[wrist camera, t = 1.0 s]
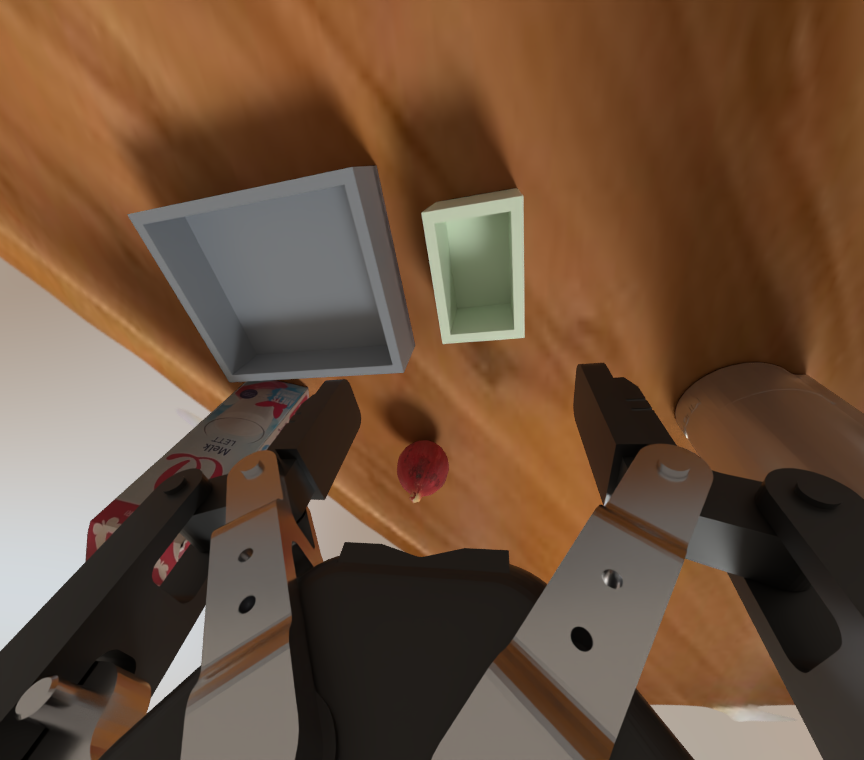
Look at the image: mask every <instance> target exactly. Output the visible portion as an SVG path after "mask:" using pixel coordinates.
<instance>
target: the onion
mask: <svg viewBox="0 0 864 760" xmlns="http://www.w3.org/2000/svg"><path fill="white" fill-rule="evenodd" d="M448 471H449V464H448V458H447V456H446V454H445V452H444V451H443V449H442V448H441V447H440V446H439V445H437V444H436V443H434V442H432V441H428V440H423V441H416V442H414V443H412V444H410V445H409V446H407V447H406V448H405V449H404V451H403V452H402V453H401V455H400V457H399V460H398V465H397V475H398V478H399V481H400V483H401V485H402V487H403V488H404V489H405V490H406V491H407V492H408V493H410V494H411V496H410V498H409V499H410V500H411V501H412V502H414V503H415V502H419V501H420V499H421V497H422V496H428V495H431V494H433V493H435V492H436V491H437V490H439V489H440V488H441V487H442V486H443V484H444V483H445V481H446V478H447V474H448Z"/></svg>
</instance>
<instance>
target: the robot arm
mask: <svg viewBox="0 0 864 760" xmlns="http://www.w3.org/2000/svg"><path fill="white" fill-rule="evenodd" d="M573 406H574V417H575V421H576V424H577V427H578V430H579V433H580V436H581V439H582V442H583V445H584V448H585V451H586V454H587V457H588V460H589V463H590V466H591V469H592V472H593V475H594V478H595V481H596V484H597V487H598V490H599V493H600V496H601V499H602V502H603V505H604V506H603V505H599V506H598V507H597V508H596V509H595V511H594V512H593V514H592V515H591V517H590V518H589V520H588V521H587V523H586V525H585V526H584V528H583V529H582V531H581V533H580V534H579V536H578V537H577V539H576V540H575V542H574V544H573V545H572V547H571V548H570V550H569V551H568V553H567V555H566V556H565V558H564V559H563V561H562V562H561V564H560V566H559V567H558V569H557V570H556V572H555V573H554V575H553V577H552V578H551V580H550V581H549V583H548V585H547V584H546V583H545V582H544V581H542V580H541V579H540V578H538V577H536V576H535V575H533V574H532V573H530V572H528V571H526V570H524V569H522V568H520V567H517V566H514V565H511V564H509V551H508V550H490V549H470V548H464V549H459V550H454V551H449V552H445V553H440V554H435V555H430V556H426V557H417V556H414V555H411V554H408V553H406V552H403V551H400V550H397V549H394V548H391V547H389V546H386V545H383V544H370V543H351V542H345V543H344V546H343V548H342V551H341V554H340V556H337V557H334V558H331V559H328V560H326V561H324V562H323V559H322V556H321V553H320V549H319V545H318V541H317V537H316V533H315V529H314V525H313V521H312V517H311V513H310V510H309V508H308V507H307V505H308V503H309V502H310V500H311V499H316V500H325V498H326V496H327V494H328V492H329V490H330V488H331V486H332V484H333V482H334V480H335V478H336V476H337V473H338V471H339V469H340V467H341V465H342V463H343V461H344V459H345V457H346V455H347V453H348V451H349V449H350V446H351V444H352V442H353V440H354V438H355V436H356V434H357V432H358V430H359V428H360V424H361V414H360V410H359V407H358V405H357V402H356V399H355V397H354V394H353V391H352V389H351V386H350V383H349V382H348V381H347V380H345V379H343V380H328V381H325V382H324V383H323V384H322V386H321V387H320V388H319V390H318V391H317V392H316V394H314V395H312V396H311V397H310V398H308V399H307V400H306V401H304V402H303V403H302V404H301V405H300V407H299V408H298V409H297V411H296V412H295V415H293V416H292V417H291V419H290V420H289V423H287V424H286V425H285V426H284V428H283V429H282V430H281V432H280V433H279V434H278V436H277V437H276V438H275V440H274V441H273V442H272V443H271V445H270V446H269V447H268V449H267V450H262V451H258V452H254V453H252V454H250V455H248V456H246V457H244V458H243V459H241V460H240V461H239V462H237V463H236V464H235V465H234V466H233V468H232V469H231V470H230V472H229V474H225V475H222V476H218V477H214V478H211V479H208V478H207V477H206V476H205V475H204V474H203V472H202V471H201V470H200V469H197V468H192V469H187V470H183V471H181V472H178V473H176V474H174V475H172V476H171V477H169V478H168V479H166V480H165V481H163V482H162V483H161V484H160V485H159V486H158V487H157V488H156V489H155V490H154V491H153V492H152V493H151V494H150V495H149V496H148V497H147V498H146V499H145V500H144V501H143V502H142V503H141V504H140V505H139V507H138V508H137V509H136V510H135V511H134V512H133V513H132V514H131V515H130V516H129V517H128V518H127V519H126V520H125V521H124V522H123V523H122V524H121V525H120V526H119V528H118V529H117V530H116V531H115V532H114V533H113V534H112V535H111V536H110V537H109V538H108V539H107V540H106V541H105V542H104V543H103V544H102V545H101V546H100V547H99V548H98V550H97V551H96V552H95V553H94V554H93V555H92V556H91V557H90V558H89V559H88V560H87V561H86V562H85V563H84V564H83V565H82V566H81V567H80V568H79V570H78V571H77V572H76V573H75V574H74V575H73V576H72V577H71V578H70V579H69V580H68V581H67V582H66V583H65V584H64V585H63V586H62V587H61V588H60V589H59V590H58V592H57V593H56V594H55V595H54V596H53V597H52V598H51V599H50V600H49V601H48V602H47V603H46V604H45V605H44V606H43V607H42V608H41V609H40V611H38V613H37V614H36V615H35V616H34V617H33V618H32V619H31V620H30V621H29V622H28V623H27V624H26V625H25V626H24V627H23V628H22V629H21V630H20V631H19V632H18V633H17V635H16V636H15V637H14V638H13V639H12V640H11V641H10V642H9V643H8V644H7V645H6V646H5V647H4V648H3V649H2V650H1V651H0V760H694V759H693V757H692V756H691V755H690V754H689V753H688V751H687V750H686V749H685V748H684V746H683V745H682V744H681V743H680V742H679V740H678V739H677V738H676V737H675V735H674V734H673V733H672V732H671V731H670V729H669V728H668V727H667V726H666V724H665V723H664V722H663V721H662V719H661V718H660V717H659V716H658V715H657V713H656V712H655V711H654V710H653V708H652V707H651V706H650V705H649V704H648V702H647V701H646V700H645V699H644V697H643V696H642V695H641V694H640V693H639V691H638V690H637V689H636V686H637V683H638V680H639V678H640V675H641V673H642V670H643V667H644V665H645V662H646V659H647V657H648V654H649V652H650V649H651V646H652V644H653V641H654V638H655V636H656V633H657V630H658V628H659V625H660V623H661V620H662V617H663V615H664V612H665V609H666V607H667V604H668V602H669V599H670V596H671V594H672V591H673V588H674V586H675V583H676V581H677V578H678V575H679V573H680V570H681V567H682V565H683V562H684V559H688V560H691V561H694V562H697V563H701V564H704V565H707V566H710V567H713V568H716V569H719V570H722V571H725V572H727V573H728V575H729V577H730V579H731V581H732V583H733V585H734V587H735V588H736V590H737V592H738V594H739V596H740V598H741V600H742V602H743V604H744V606H745V608H746V610H747V612H748V614H749V616H750V618H751V620H752V622H753V624H754V625H755V627H756V629H757V631H758V633H759V635H760V637H761V639H762V641H763V643H764V645H765V647H766V649H767V651H768V653H769V655H770V657H771V659H772V661H773V662H774V664H775V666H776V668H777V670H778V672H779V674H780V676H781V678H782V680H783V682H784V684H785V686H786V688H787V690H788V692H789V694H790V696H791V698H792V700H793V701H794V703H795V705H796V707H797V709H798V711H799V713H800V715H801V717H802V718H803V721H804V723H805V725H806V727H807V729H808V731H809V733H810V734H811V737H812V738H813V740H814V742H815V744H816V746H817V748H818V750H819V752H820V754H821V756H822V758H823V760H864V414H863V413H862V412H860V411H859V410H858V409H856V408H855V407H853V406H852V405H850V404H849V403H847V402H846V401H845V400H843V399H842V398H840V397H839V396H837V395H836V394H834V393H833V392H831V391H830V390H829V389H827V388H826V387H824V386H823V385H821V384H820V383H818V382H817V381H815V380H814V379H813V378H811V377H810V376H808V375H794V374H792V373H790V372H788V371H787V370H785V369H784V368H782V367H779V366H776V365H773V364H767V363H759V362H758V363H743V364H737V365H732V366H729V367H726V368H722V369H719V370H717V371H715V372H713V373H710V374H708V375H706V376H705V377H703V378H701V379H700V380H698V381H697V382H695V383H694V384H693V385H692V386H691V387H690V388H689V389H687V390H686V392H685V393H684V394H683V395H682V397H681V398H680V400H679V402H678V404H677V406H676V412H675V416H676V421H677V423H678V425H679V427H680V428H681V430H682V431H683V433H684V435H685V436H686V438H687V439H688V440H689V441H690V443H691V444H692V446H693V447H694V449H695V450H696V452H697V453H698V455H699V456H700V457H699V456H698V455H696V454H695V453H693V452H691V451H689V450H687V449H684V448H682V447H679V446H677V445H676V444H675V442H674V441H673V439H672V438H671V436H670V435H669V433H668V432H667V430H666V429H665V427H664V426H663V424H662V423H661V421H660V419H659V418H658V416H657V415H656V413H655V412H654V410H652V407H651V406H650V404H649V403H648V401H647V400H645V397H644V395H643V394H642V392H641V391H640V389H639V388H638V386H636V385H635V384H633V383H632V382H630V381H629V380H627V379H626V378H624V377H620V378H613V376H612V375H611V373H610V371H609V369H608V368H607V366H606V364H605V363H592V364H578V366H577V369H576V380H575V392H574V405H573ZM179 533H180V534H181V535H182V536H183V537H184V538H185V539H186V540H187V541H189V542H190V543H191V544H190V545H189V546H188V548H187V549H186V551H185V552H184V553H183V555H182V556H181V558H180V559H179V560H178V562H177V563H176V564H175V566H174V567H173V569H172V570H171V571H170V573H169V574H168V576H167V577H166V578H165V580H164V581H163V582H162V584H161V585H160V587H159V586H158V585H156V584H155V583H154V581H153V578H152V572H153V569H154V566H155V564H156V563H157V561H158V560H159V559H160V557H161V556H162V555H163V553H164V552H165V551H166V550H167V548H168V547H169V546H170V544H171V543H172V542H173V541H174V539H175V538H176V537H177V535H178V534H179ZM205 605H206V610H205V623H204V636H203V650H202V663H201V666H200V667H199V668H197V669H196V670H195V671H194V672H193V673H192V674H191V675H190V676H188V677H187V678H186V679H185V680H184V681H183V682H182V683H181V684H179V685H178V686H177V687H176V688H175V689H174V690H173V691H172V692H171V693H169V694H168V695H167V696H166V697H165V698H164V699H163V700H162V701H161V702H159V703H158V704H157V705H156V706H155V707H154V708H153V709H152V710H151V711H149V712H148V713H146V712H147V710H148V707H149V703H150V699H151V697H152V695H153V694H154V692H155V690H156V688H157V687H158V685H159V683H160V682H161V680H162V678H163V676H164V675H165V673H166V671H167V670H168V668H169V666H170V665H171V663H172V661H173V660H174V658H175V656H176V654H177V653H178V651H179V649H180V648H181V646H182V644H183V643H184V641H185V639H186V637H187V636H188V634H189V632H190V631H191V629H192V627H193V626H194V624H195V622H196V620H197V619H198V617H199V615H200V613H201V612H202V610H203V608H204V607H205Z"/></svg>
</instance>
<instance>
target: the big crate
mask: <svg viewBox="0 0 864 760" xmlns="http://www.w3.org/2000/svg"><path fill="white" fill-rule="evenodd" d="M127 215H128V217H129V218H130V220H131V222H132V223H133V225H134V226H135V228H136V230H137V231H138V233H139V235H140V236H141V238H142V240H143V241H144V243H145V244H146V246H147V248H148V249H149V251H150V253H151V254H152V256H153V258H154V259H155V261H156V263H157V264H158V266H159V267H160V269H161V271H162V272H163V274H164V276H165V277H166V279H167V281H168V282H169V284H170V285H171V287H172V289H173V290H174V292H175V294H176V295H177V297H178V299H179V300H180V302H181V304H182V305H183V307H184V308H185V310H186V312H187V313H188V315H189V317H190V318H191V320H192V322H193V323H194V325H195V327H196V328H197V330H198V331H199V333H200V335H201V336H202V338H203V340H204V341H205V343H206V345H207V346H208V348H209V349H210V351H211V353H212V354H213V356H214V358H215V359H216V361H217V363H218V364H219V366H220V368H221V369H222V371H223V372H224V374H225V376H226V377H227V379H228V381H229V382H245V381H263V380H281V379H299V378H317V377H335V376H353V375H371V374H389V373H404V371H405V368H406V366H407V364H408V361H409V359H410V357H411V354H412V352H413V349H414V347H415V342H414V337H413V333H412V328H411V323H410V319H409V314H408V309H407V305H406V300H405V296H404V291H403V286H402V282H401V277H400V272H399V268H398V263H397V258H396V254H395V249H394V244H393V240H392V235H391V231H390V226H389V221H388V217H387V212H386V207H385V203H384V198H383V193H382V189H381V184H380V179H379V175H378V170H377V166H360V167H350V168H345V169H340V170H336V171H331V172H326V173H321V174H317V175H312V176H307V177H302V178H298V179H293V180H288V181H283V182H279V183H274V184H269V185H265V186H260V187H255V188H250V189H246V190H241V191H236V192H231V193H227V194H222V195H217V196H212V197H208V198H203V199H198V200H194V201H189V202H184V203H179V204H175V205H170V206H165V207H160V208H156V209H151V210H146V211H141V212H137V213H132V214H127Z"/></svg>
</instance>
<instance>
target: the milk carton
mask: <svg viewBox="0 0 864 760" xmlns="http://www.w3.org/2000/svg"><path fill="white" fill-rule="evenodd" d="M308 398H309V392H308V387H303V386H299V385H295V384H290V383H286V382H282V381H277V380H263V381H246V382H245V383H244V384H243V385H242V386H240V387H239V388H238V389H237V390H236V391H235V392H234V393H233V394H232V395H230V396H229V397H228V398H227V399H226V400H225V401H224V402H223V403H222V404H220V405H219V406H218V407H217V408H216V409H215V410H214V411H213V412H212V413H210V414H209V415H208V416H207V417H206V418H205V419H204V420H203V421H201V422H200V423H199V424H198V425H197V426H196V427H195V428H194V429H193V430H192V431H190V432H189V433H188V434H187V435H186V436H185V437H184V438H183V439H181V440H180V441H179V442H178V443H177V444H176V445H175V446H174V447H173V448H172V449H170V450H169V451H168V452H167V453H166V454H165V455H164V456H163V457H162V458H161V459H159V460H158V461H157V462H156V463H155V464H154V465H153V466H151V467H150V468H149V469H148V470H147V471H146V472H145V473H144V474H143V475H141V476H140V477H139V478H138V479H137V480H136V481H135V482H134V483H132V484H131V485H130V486H129V487H128V488H127V489H126V490H125V491H124V492H123V493H121V494H120V495H119V496H118V497H117V498H116V499H115V500H114V501H112V502H111V503H110V504H109V505H108V506H107V507H106V508H105V509H104V510H102V511H101V512H100V513H99V514H98V515H97V516H96V517H95V518H94V519H92V520H91V521H90V525H89V529H88V534H87V548H86V561H87V560H88V559H89V558H90V557H91V556H92V555H93V554H94V553H95V552H96V551H97V550H98V548H99V547H100V546H101V545H102V544H103V543H104V542H105V541H106V540H107V539H108V538H109V537H110V536H111V535H112V534H113V533H114V532H115V531H116V530H117V529H118V528H119V526H120V525H121V524H122V523H123V522H124V521H125V520H126V519H127V518H128V517H129V516H130V515H131V514H132V513H133V512H134V511H135V510H136V509H137V508H138V507H139V505H140V504H141V503H142V502H143V501H144V500H145V499H146V498H147V497H148V496H149V495H150V494H151V493H152V492H153V491H154V490H155V489H156V488H157V487H158V486H159V485H160V484H161V483H162V482H163V481H165V480H166V479H168V478H169V477H171V476H172V475H174V474H176V473H178V472H181V471H183V470H187V469H192V468H197V469H200V470H201V471H202V472H203V474H204V475H205V476H206V477H207V478H208V479H211V478H214V477H218V476H222V475H225V474H229V472H230V470H231V469H232V468H233V466H234V465H235V464H236V463H237V462H239V461H240V460H241V459H243V458H244V457H246V456H248V455H250V454H252V453H254V452H258V451H262V450H267V449H268V447H269V446H270V445H271V443H272V442H273V441H274V440H275V438H276V437H277V436H278V434H279V433H280V432H281V430H282V429H283V428H284V426H285V425H286V424H287V423H289V420H290V419H291V417H292V416H293V415H295V412H296V411H297V409H298V408H299V407H300V405H301V404H302V403H303V402H304V401H306V400H307V399H308ZM190 544H191V543H190V542H189V541H187V540H186V539H185V538H184V537H183V536H182V535H181V534H180V533H179V534H178V535H177V537H176V538H175V539H174V541H173V542H172V543H171V544H170V546H169V547H168V548H167V550H166V551H165V552H164V553H163V555H162V556H161V557H160V559H159V560H158V561H157V563H156V564H155V566H154V569H153V572H152V578H153V581H154V583H155V584H156V585H158V586H159V587H160V585H161V584H162V582H163V581H164V580H165V578H166V577H167V576H168V574H169V573H170V571H171V570H172V569H173V567H174V566H175V564H176V563H177V562H178V560H179V559H180V558H181V556H182V555H183V553H184V552H185V551H186V549H187V548H188V546H189V545H190Z"/></svg>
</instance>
